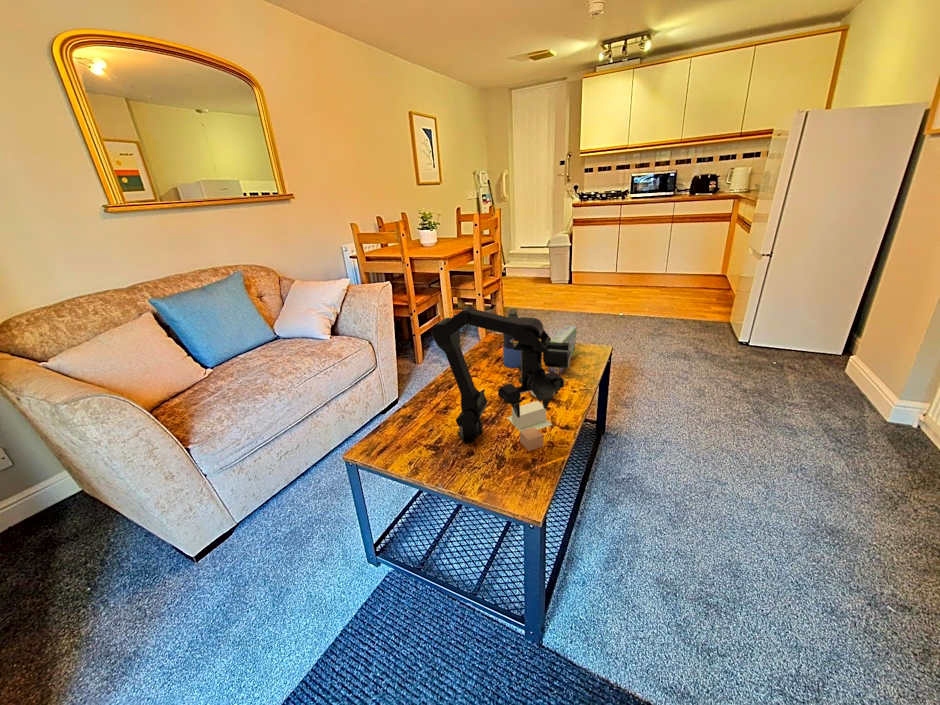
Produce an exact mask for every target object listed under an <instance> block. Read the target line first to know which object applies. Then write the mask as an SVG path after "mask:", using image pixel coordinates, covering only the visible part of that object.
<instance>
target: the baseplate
mask: <svg viewBox="0 0 940 705" xmlns="http://www.w3.org/2000/svg"><path fill="white" fill-rule="evenodd" d="M506 419H507V420H508V421H509V422H510V423H511V425H513V426H514V427H515V428H516V429H517V430H518V431H519V432H520V431H523V430H526V429H529V428H532V427H535V428H536V429H537V430H538V431H539V430H541V429H544V428H547V427H550V426H553V423H551V421H550V420H548V419H547V418H546V421H543V422H540V423H537V424H534V425H531V426H528V427H525V428H522V429H519V428H518V427H517V426H516V425H515V424H514V423H513V422H512V415H510V416H507V417H506Z"/></svg>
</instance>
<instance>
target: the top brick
mask: <svg viewBox="0 0 940 705" xmlns="http://www.w3.org/2000/svg"><path fill="white" fill-rule="evenodd" d="M519 443H520V444H521V445H522V446H523V447H524V448H525V449H526V451H528V452H531V451H533V450H536V449H540V448H542V447H544V434H543V433H541V432H540V430H539V429H538V430H537V429H536V428H535V427H532V428H529V429H526V430H523V431H519Z"/></svg>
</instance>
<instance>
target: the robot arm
mask: <svg viewBox="0 0 940 705" xmlns="http://www.w3.org/2000/svg"><path fill="white" fill-rule="evenodd" d="M466 325H468V326H472V327H476V328H480V329H484V330H488V331H493V332H497V333H500V334H503V333H504V334H507V335H509V336H510V337H512V338H513V339H514V340H516V341H518V343H516V345H515V346H514V348H513V350H519V351H521V365H520V366H519V368H518V370H519V371H520V378H519V379H518V383H520V386H517V387H515V386H514V384H512V383H509V384H506V385H502V386H499V388H498V390H497V391H498V392H497V393H498V394H497V395H498V396H499V397H500V398H501V399H502V400H503V401H504V402H505V403H506V404H510V406H511V407H512V408H513V410H514V412H515V414H516V416H517V417H518V418H520V406H521V405H520V404H521V403H522V400H521V398H522V397H521V395H522V394H524V393H525V394H526V393H528V392H530V391H532V392H533V393H534V394H535V396H536V397H537V398H536V397H535V398H536V399H537V401H539V402H540V401H541V403H542V405H543V408H544V409H546V410H547V409H548V407H549V404H550V402H551V399H553V397H554V395H555V394H554V393H557V392H559V391H560V390H561V389H563V388H564V387H565V380H564V378H563V377H562V376H561V375H560V376H559V375H557V374H556V373H554V372H551V373H547V374H545V372H546V369H545V368H543V363H544V366H546V367H547V368H548V367H557V368H565V369H568V370H569V368H570V366H571V365H570V364H571V362H570V357H571V352H570V347H569V343H553V342H550V341H551V339H552V338H551V337H550V336H549V334H548V333H547V332H546V331H545V329H544V325H543V323H542V321H541V319H538V318H536V317H524V316H523V317H518V318H509V317H508V316H505V315H504V316H503V315H499V314H497V313H496V314H495V313H493V312H492V313H491V312H489V311H488V312H487V311H484V310H480V309H479V310H478V309H475V308H473V307H471V306H466V307H464V308H463V309H462V310H460V311H459V312H457V314H455V315H453V316H452V317H444V318H443V319H442V320H440V321H439V322H438V323H437V324H435V325H434V326H433V327H432V329H431V337H432V339H433V340H434V342H435V343H436V346H437V347H438V348H439V349H440V350H441V351H443V352H444V354H445V356H446V359H447V362H448V365H449V367H450V369H451V370H450V371H451V372H452V375H453V377H454V379H455V380H454V381H455V382H456V385H457V388H458V390H459V393H460V407H461V408H460V409H461V411H460V413H459V415H458V416H457V418H456V419H455V422H456V425H457V426H458V429H459V431H458V432H457V435H458V437H460V439H461V440H462V441H463V443H464V444H465V445H466V444H470V443H473V442H476V441H477V440H476V438H477V437H479V436H480V435H481V434H483V421H482V420H481V417H482V416H483V413H484V412H485V410H486V408H487V406H488V405H487V403H488V402H489V401H488V399H487V398H486V396H485V394H486V393H485V392H484V390H481V391H480V390H478V389H477V388H476V386H475V384H474V380H473V378H472V375H471V373H470V370H469V367H468V364H467V362H466V359H465V356H464V353H463V351H462V348H461V333H460V330H461V329H462V328H463V327H464V326H466ZM553 394H554V395H553ZM512 408H511V409H512Z"/></svg>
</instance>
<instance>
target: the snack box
mask: <svg viewBox="0 0 940 705" xmlns="http://www.w3.org/2000/svg"><path fill="white" fill-rule="evenodd" d="M577 329H578V328H577V326H576V325H567V324H565V325H564V326H563V327H562V328H561V329H560V330H559V331H558V332H557V333H556V334H555V335H554V336H553V337H552V338H551V341H550V342H553V343H569V347H570V352H571V357H570V363H571V362H572V361H573V360H574V359H575V353H576V352H575V351H576V339H577ZM565 369H566V368H557V367H547V372H550V373H551V372H554V373H556V374H557V375H559V376H560V377H561V375H562V373H563V372H564V371H565Z"/></svg>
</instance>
